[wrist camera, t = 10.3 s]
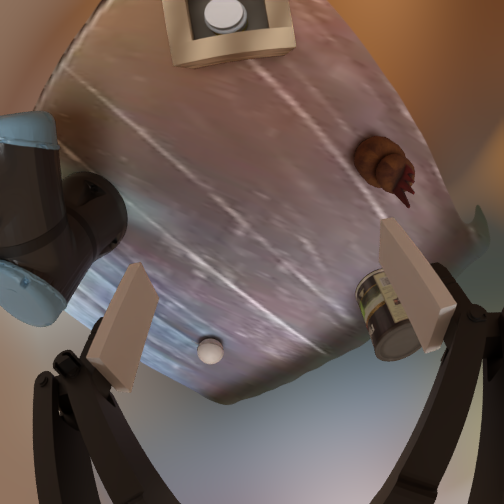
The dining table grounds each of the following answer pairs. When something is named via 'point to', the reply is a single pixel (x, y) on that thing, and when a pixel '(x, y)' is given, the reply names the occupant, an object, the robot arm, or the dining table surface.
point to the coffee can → (386, 318)
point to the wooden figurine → (385, 166)
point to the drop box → (227, 45)
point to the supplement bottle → (225, 16)
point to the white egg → (210, 351)
